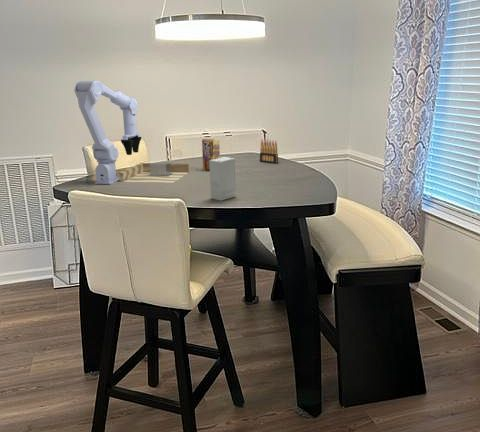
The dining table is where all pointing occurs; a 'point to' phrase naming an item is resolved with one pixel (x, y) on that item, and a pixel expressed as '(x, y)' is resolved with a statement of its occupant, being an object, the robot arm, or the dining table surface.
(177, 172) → the arena
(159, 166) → the bracket
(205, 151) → the candy box
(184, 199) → the dining table surface
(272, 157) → the ammunition clip
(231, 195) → the skincare box
